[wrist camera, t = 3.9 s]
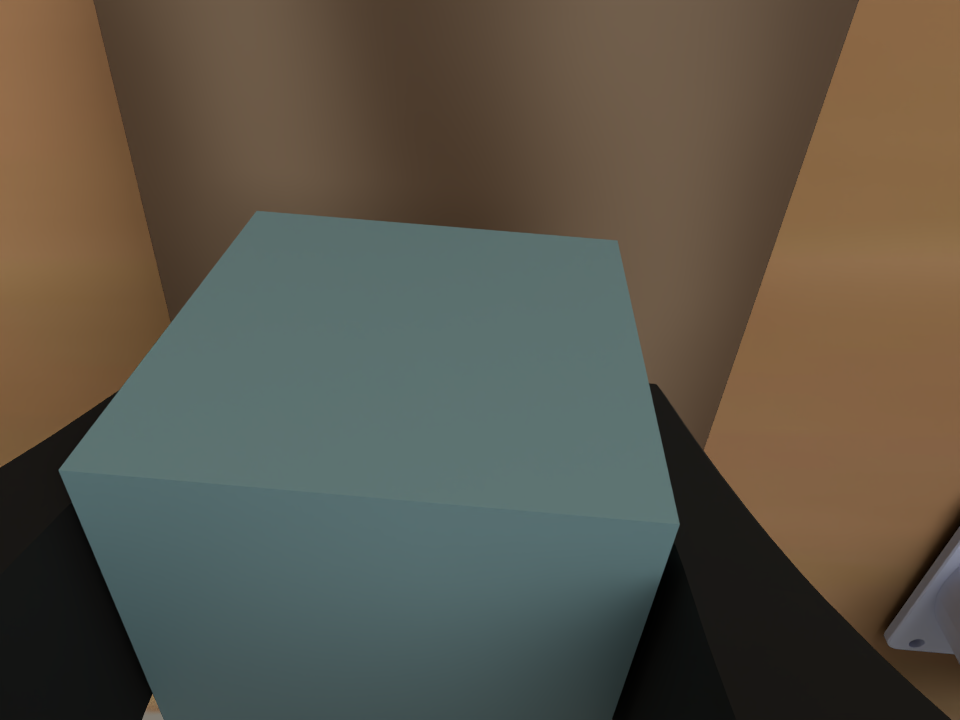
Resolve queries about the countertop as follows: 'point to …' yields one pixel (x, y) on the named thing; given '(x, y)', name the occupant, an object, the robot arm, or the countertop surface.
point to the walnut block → (491, 136)
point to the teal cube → (385, 479)
